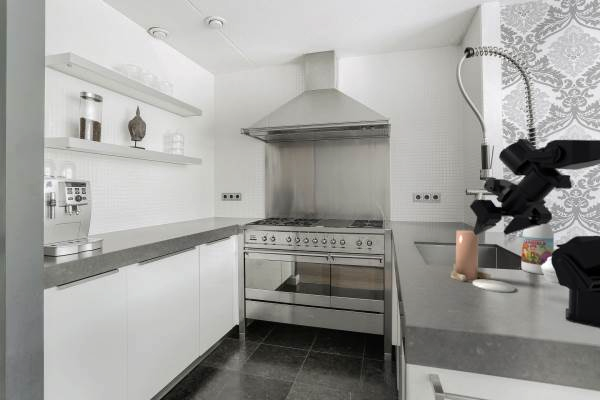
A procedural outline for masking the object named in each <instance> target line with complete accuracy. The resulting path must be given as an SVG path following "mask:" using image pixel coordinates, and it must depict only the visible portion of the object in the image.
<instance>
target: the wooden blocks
mask: <svg viewBox="0 0 600 400" xmlns="http://www.w3.org/2000/svg"><path fill="white" fill-rule="evenodd" d="M452 264H453V265H452V271H450V278H452V279H454V280H457V281H460V282H463V283H464V282H466V276H465V275H462V274H459V273H456V262H454V263H452ZM478 278H479V279H486V280H491V274H490V273H487V272H484V271H480V270H478Z"/></svg>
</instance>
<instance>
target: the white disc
mask: <svg viewBox="0 0 600 400" xmlns="http://www.w3.org/2000/svg"><path fill="white" fill-rule="evenodd" d="M472 286H474V287H476V288H477V289H478V288H479V289H482V290H485V291H490V292H494V293H495V292H496V293H513V292H515V290H516V289H515V286H514V285H512V284H510V283H507V282H504V281H499V280H493V279H490V280H486V279H483V278H479V279H476V280H472Z"/></svg>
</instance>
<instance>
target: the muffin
mask: <svg viewBox="0 0 600 400" xmlns="http://www.w3.org/2000/svg"><path fill="white" fill-rule="evenodd" d="M551 258H552V257H549V258H547V261H546V262H545V263H544V264H542V265H541V269H542V270H543V271H542V272H543V274H542V275H544V277H545V279H546V281H548V282H551V283H554V284H556V283H557V284H559V281H558V278H557V275H556V272H555V269H554V268H553V266H552V262H551Z"/></svg>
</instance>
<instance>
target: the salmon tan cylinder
mask: <svg viewBox="0 0 600 400" xmlns="http://www.w3.org/2000/svg"><path fill="white" fill-rule="evenodd" d="M473 231H474V230H465V229H461V230H460V229H459V230H458V229H456V234H455V236H456V238H455V239H456V241H455V263H456V273H459V274H462V275H465V276H466V280H467V281H474V280H478V278H479V277H478V271H479V270H478V269H479V268H478V267H479V266H478V265H479V235H480V234H478V235H475V234H474V232H473Z"/></svg>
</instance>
